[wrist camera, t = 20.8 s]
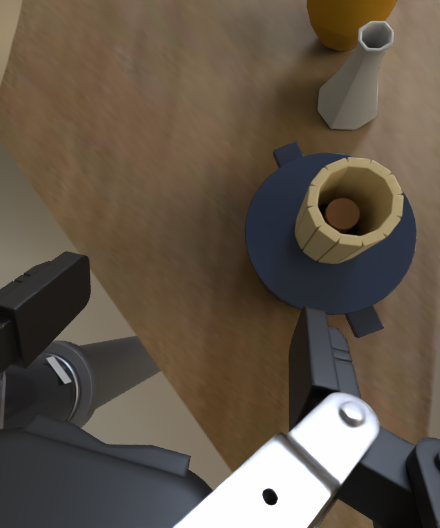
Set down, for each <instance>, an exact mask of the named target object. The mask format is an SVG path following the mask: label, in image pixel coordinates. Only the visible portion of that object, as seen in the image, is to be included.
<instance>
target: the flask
mask: <svg viewBox="0 0 440 528" xmlns="http://www.w3.org/2000/svg"><path fill="white" fill-rule="evenodd" d="M393 33H394V31H393V30H392V29H391V27H390V26H389V25H388V24H387V23H386V22H385V21H371V22H369V23H367V24H366V25H364V26H363V27H361V28H359V30H358V42H357V45H356V47H355V49H354V51H353V52H352V54H351V55H350V57H349V59H348V60H347V61H346V62H345V63H344V64H343V65H342V66H341V68H340V69H339V70H338V71H337V72H336V73H335V74H334V75H333V76H332V77H331V78H330V79H329V80H328V81H327V82H326V83H325V84H324V85H323V86H322V87H321V88H320V89H319V99H318V112H319V113H320V115H321V116H322V117H323V119H324V120H325V121H326V123H327V124H328V126H329V127H330V128H331V129H349V130H356V129H358V128H359V127H361V126H363V125H364V124H366V123H368V122H369V121H371V120H373V119H374V118H376V117H377V100H378V73H379V68H380V64H381V60H382V58H383V56H384V53H385V51H386V50H387V49H389V48H390V47H391V46H392V45H393Z"/></svg>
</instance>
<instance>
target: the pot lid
mask: <svg viewBox="0 0 440 528" xmlns="http://www.w3.org/2000/svg"><path fill="white" fill-rule="evenodd" d="M348 157H351V158H358V157H354V156H350V155H346V154H339V153H320V154H313V155H308V156H304V157H301V158H298V159H295V160H293V161H291V162H289V163H287V164H285V165H284V166H282V167H281V168H279V169H277V170H276V171H275V172H274V173H273V174H271V175H270V176H269V177H268V178H267V179H266V180H265V181H264V183H263V184H262V185H261V186H260V188H259V189H258V191H257V192H256V194H255V196H254V198H253V200H252V202H251V204H250V207H249V210H248V214H247V218H246V226H245V239H246V246H247V251H248V255H249V258H250V261H251V263H252V265H253V267H254V269H255V271H256V273H257V275H258V276H259V278H260V279H261V281H262V282H263V283H264V284H265V285H266V286H267V287H268V289H269V290H271V291H272V292H273V293H274V294H275V295H276V296H278V297H279V298H280V299H282V300H283V301H285V302H286V303H288V304H290V305H292V306H294V307H296V308H299V309H302V308H303V307H304V306H306V307H310V308H314V309H319V310H323V311H326V314H327V315H335V314H346V313H352V312H356V311H359V310H362V309H365V308H367V307H370V306H372V305H374V304H376V303H377V302H379V301H380V300H382V299H384V298H385V297H386V296H387V295H389V294H390V293H391V292H392V291H393V290H394V289H395V288H396V287H397V286H398V285H399V283H400V282H401V281H402V279H403V278H404V276H405V275H406V273H407V271H408V269H409V267H410V265H411V263H412V260H413V256H414V253H415V247H416V223H415V218H414V214H413V211H412V208H411V206H410V203H409V201H408V199H407V197H406V196H405V194H404V192H403V191H402V192H403V193H402V194H401V195H402V196H404V198H403V210H402V217H400V219H401V220H400V221H399V223H398V224H397V225H396V226H395V228H394V229H393V230H392V232H391V233H390V234H389V236H387V237H386V238H385V239H383V240H381V241H380V242H378V243H376V244H375V245H373V246H371V247H370V248H368V249H366V250H365V251H363V252H361V253H360V254H358V255H356V256H355V257H353V258H351V259H349V260H346V261H343V262H341V263H338V264H336V263H335V264H329V263H321V262H318V260H317V261H315V260H313V259H312V258H311V257H309V256H308V255H307V254H305V253H304V252H303V250H304V249H302V250H301V248H300V246H299V244H298V242H297V239H296V237H295V234H296V233H295V225H296V218H297V216H298V213H299V211H300V208H301V206H302V203H303V201H304V198H305V196H306V193H307V191H308V188H309V186H310V183H311V182H312V181H313V179H314V178H315V177H316V176H317V174H318V173H319V172H320V171H321V169H322V168H325V166H326V165H329V164H331V163H333V162H336V161H338V160H341V159H343V158H346V160H347V159H348ZM401 190H402V189H401ZM318 208H319V211H320V213H321V215H322V217H323V219H324V221H325V223H326V224H328V225H329V226H331V227H332V228H333V229H335V230H336V231H338V232H339V233H341V234H346V235H354V236H357V231H358V225H357V222H358V220H359V217H360V211H359V208H358V206H357V205H356V203H355V202H353V201H352V200H350V199H347V198H338V199H335V200H333V201H332V202H330V204H324V205H322V206H319V207H318Z"/></svg>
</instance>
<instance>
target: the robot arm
mask: <svg viewBox="0 0 440 528" xmlns="http://www.w3.org/2000/svg"><path fill="white" fill-rule="evenodd" d="M90 293H91V285H90V264H89V258H88V257H87V256H85V255H80V254H76V253H72V252H64V253H62V254H61V255H59V256H58V257H57V258H55V259H54V260H52V261H48V262H45V263H42V264H39V265H36V266H34V267H33V268H31V269H30V270H28V271H27V272H26V273H24V275H21V276H19V277H18V278H16V279H15V281H14V282H13V281H12V282H10V283H9V284H8V285H6V286H5V287H3V288H2V289H0V528H318V526H319V525H320V524H321V522H322V521H323V519H324V518H325V517H326V515H327V514H328V512H329V511H330V510H331V508H332V507H333V506H334V504H335V503H336V501H337V500H338V499H340V500H341V501H343V502H344V503H346V504H348V505H349V506H351V507H352V508H354V509H355V510H357V511H359V512H360V513H362V514H363V515H365V516H366V517H368V518H370V519H371V520H373V526H374V528H440V439H436V438H430V437H427V438H423V439H421V440H419V441H418V443H417V444H416V445H413V444H412V443H410V442H408V441H406V440H404V439H402V438H400V437H398V436H396V435H394V434H393V433H391V432H389V431H387V430H386V429H384V428H383V427H381V426H380V424H379V420H378V418H377V416H376V414H375V412H374V411H373V410H372V409H371V408H370V407H369V405H368V404H366V403H365V402H364V401H362V399H361V395H360V391H359V387H358V383H357V379H356V375H355V371H354V367H353V364H352V359H351V355H350V354H349V353H350V351H349V347H348V343H347V340H346V338H345V337H344V336H343V334H342V333H341V332H340V330H339V329H338V328H333V327H329V325H328V320H327V315H326V311H323V310H319V309H314V308H310V307H306V306H304V307H303V308H302V310H301V313H300V316H299V319H298V322H297V325H296V328H295V331H294V334H293V337H292V340H291V344H290V349H289V433H288V434H287V435H284V434H283V433H282V432H280V433H278V434H276V435H275V436H274V437H272V438H271V439H270V440H269V441H268V442H267V443H266V444H265V445H264V446H262V447H261V448H260V449H259V450H258V451H257V452H256V453H255V454H254V455H253V456H251V457H250V458H249V459H248V460H247V461H246V462H245V463H244V464H243V465H242V466H240V467H239V468H238V469H237V470H236V471H235V472H234V473H233V474H232V475H231V476H230V477H229V478H227V479H226V480H225V481H224V482H223V483H222V484H221V485H220V486H218V487H217V488H216V489H215V490H214V491H213V490H212V489H211V488H210V487H209V486H208V485H207V484H206V482H205V481H203V480H202V479H201V478H200V477H198V476H197V475H196V474H195V473H193V472H192V471H190V470H188V468H189V462H190V457H191V456H189V455H185V454H182V453H178V452H175V451H171V450H167V449H164V448H160V447H157V446H153V445H110V444H105V443H103V442H101V441H100V440H98V439H97V438H95V437H93V436H92V435H90V434H89V433H87V432H86V431H84V430H82V429H81V428H79V427H78V426H76V425H75V424H73V423H70V422H69V421H70V420H71V419H72V418H73V417H74V415H75V413H76V411H77V409H78V407H79V404H80V400H81V394H82V387H81V381H80V377H79V374H78V372H77V370H76V368H75V367H74V365H73V364H72V363H71V362H70V361H69V360H68V359H66V358H65V357H63V356H61V355H59V354H56V353H49V352H48V353H42V352H43V351H44V350H45V348H46V347H47V346H48V345H49V344H50V343H51V342H52V341H53V340H54V339H55V338H56V337H57V336H58V335H59V334H60V333H61V332H62V331H63V330H64V328H65V327H66V326H67V325H68V324H69V323H70V322H71V321H72V320H73V319H74V318H75V317H76V316H77V315H78V314H79V313H80V312H81V311H82V309H84V307H85V306H86V305H87V303H88V301H89V298H90Z"/></svg>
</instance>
